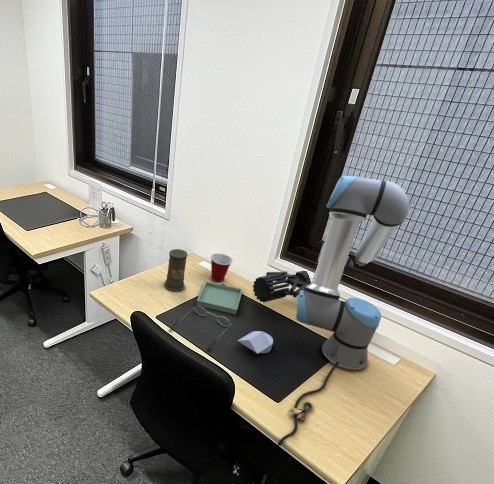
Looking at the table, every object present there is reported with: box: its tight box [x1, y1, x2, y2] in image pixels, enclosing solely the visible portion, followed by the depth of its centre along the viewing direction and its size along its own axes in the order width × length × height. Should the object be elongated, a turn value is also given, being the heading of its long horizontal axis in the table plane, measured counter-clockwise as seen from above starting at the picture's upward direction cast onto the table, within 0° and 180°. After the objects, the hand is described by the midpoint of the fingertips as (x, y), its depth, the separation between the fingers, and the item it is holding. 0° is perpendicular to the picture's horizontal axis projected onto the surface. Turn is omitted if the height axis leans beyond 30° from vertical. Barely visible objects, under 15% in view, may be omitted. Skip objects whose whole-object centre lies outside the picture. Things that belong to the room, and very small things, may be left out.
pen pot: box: [252, 273, 290, 303], centre depth 161 cm, size 10×11×11 cm
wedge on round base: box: [237, 330, 274, 354], centre depth 144 cm, size 9×7×13 cm
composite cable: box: [288, 401, 313, 423], centre depth 118 cm, size 10×5×2 cm, turn 120°
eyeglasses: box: [169, 305, 233, 351], centre depth 153 cm, size 18×19×4 cm
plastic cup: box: [210, 252, 234, 283], centre depth 186 cm, size 11×11×12 cm
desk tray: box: [195, 280, 244, 315], centre depth 173 cm, size 19×18×3 cm
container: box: [164, 248, 188, 292], centre depth 177 cm, size 9×9×18 cm
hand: (266, 287), depth 159 cm, fingers closed on pen pot, 11 cm apart
